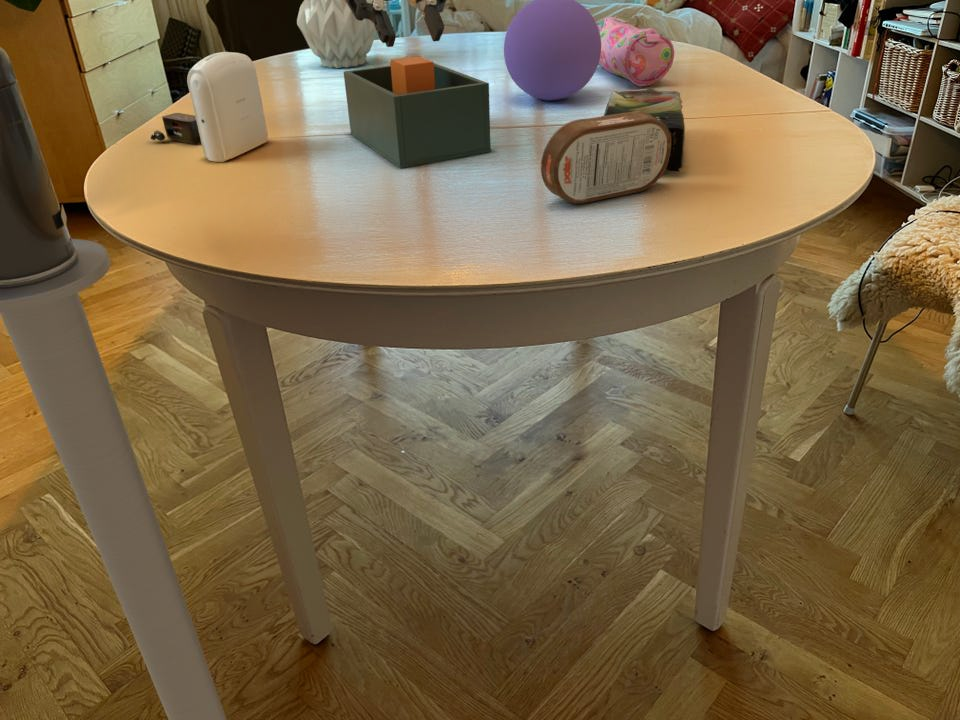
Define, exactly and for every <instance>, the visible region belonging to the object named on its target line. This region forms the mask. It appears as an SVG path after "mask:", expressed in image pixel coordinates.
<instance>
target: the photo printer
mask: <svg viewBox="0 0 960 720" xmlns="http://www.w3.org/2000/svg"><path fill="white" fill-rule="evenodd" d="M186 79H187V81H186V83H187V87H188V91H189V96H190V100H191V104H192V108H193V112H194V116H195V117H196V121H197V125H198V130H199V134H200V138H201V143H200V144H201V147H202V151H203V155H204V157H205V158H207V160H208V161H210V162H214V163H224V162H226V161H229V160H231V159H234V158H236V157H238V156H240V155H243V154H244V153H246V152H248V151H251V150H253V149H255V148H257V147H260V146H261V145H263V144H265V143H267V142H268V141H269V133H268V127H267V122H266V116H265V112H264V111H265V110H264V106H263V105H264V104H263V101H262V95H261V90H260V85H259V80H258V73H257V68H256V66H255V64H254V62H253V60H252V59H251V58H250V57H249V56H248V55H246V54H244V53H240V52H232V51H230V52H229V51H221V52H220V51H219V52H216V53H215V52H214V53H212V54H209V55H207V56H205V57H204V58H202V59H200V60H199V61H198V62H196V63H194V65H193V66H192V67H191V68H190V70H189V71H188V73H187V78H186Z"/></svg>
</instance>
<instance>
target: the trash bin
mask: <svg viewBox="0 0 960 720" xmlns="http://www.w3.org/2000/svg"><path fill="white" fill-rule="evenodd" d="M434 78H435V90H428V91H421V92H415V93H408V94H401V95H396V94H394V93H393V87H392V76H391V64H390V65H383V66H382V65H381V66H376V67H367V68H361V69H360V68H359V69H353V70H345V71H343V81H344V88H345V97H346V103H347V112H348V119H349V129H350V135H351V136H353V137H354V138H355V139H357V140H358V141H359V142H361V143H363V144H364V145H366V146H367V147H368V148H370V149H372V150H373V151H375V152H376V153H377V154H379V155H380V156H381V157H383V158H384V159H386V160H388V161H389V162H391V163H392V164H393V165H395V166H396V167H398V168H399V169H405V168H411V167H415V166H420V165H421V166H422V165H426V164H427V165H428V164H432V163H436V162H437V163H438V162H442V161H447V160H454V159H459V158H464V157H469V156H474V155H480V154H486V153H491V152H492V151H491V150H492V148H491V116H490V115H491V113H490V111H491V110H490V84H489V82H486V81H484V80H482V79H478V78H476V77H473V76H470V75H467V74H465V73H462V72H460V71H457V70H454V69H451V68H448V67H446V66H443V65H440V64H438V63H435V62H434Z"/></svg>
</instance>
